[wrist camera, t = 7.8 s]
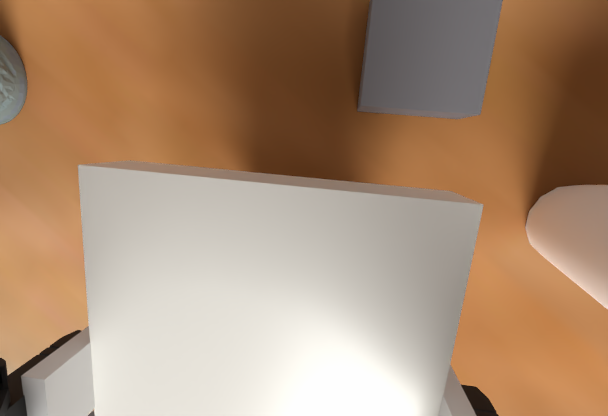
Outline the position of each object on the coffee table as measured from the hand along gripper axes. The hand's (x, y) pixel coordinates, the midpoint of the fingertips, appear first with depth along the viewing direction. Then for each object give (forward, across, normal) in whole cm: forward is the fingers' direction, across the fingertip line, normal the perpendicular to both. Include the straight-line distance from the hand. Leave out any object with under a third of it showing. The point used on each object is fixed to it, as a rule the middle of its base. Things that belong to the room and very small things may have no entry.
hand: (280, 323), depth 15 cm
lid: (-2, 0, 0) cm, 2 cm away
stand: (+13, -7, -16) cm, 22 cm away
